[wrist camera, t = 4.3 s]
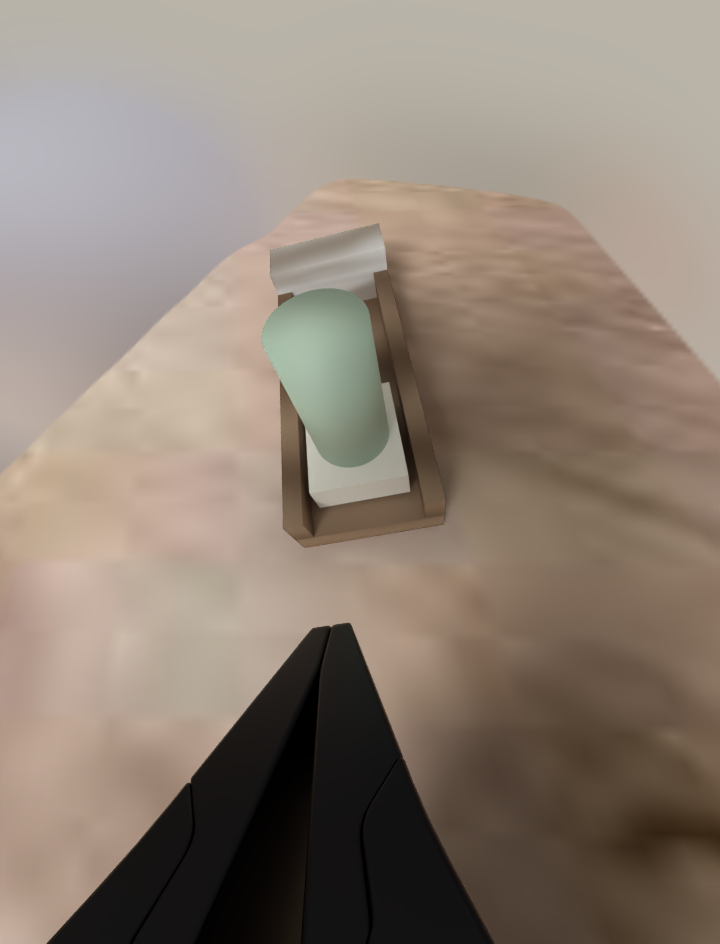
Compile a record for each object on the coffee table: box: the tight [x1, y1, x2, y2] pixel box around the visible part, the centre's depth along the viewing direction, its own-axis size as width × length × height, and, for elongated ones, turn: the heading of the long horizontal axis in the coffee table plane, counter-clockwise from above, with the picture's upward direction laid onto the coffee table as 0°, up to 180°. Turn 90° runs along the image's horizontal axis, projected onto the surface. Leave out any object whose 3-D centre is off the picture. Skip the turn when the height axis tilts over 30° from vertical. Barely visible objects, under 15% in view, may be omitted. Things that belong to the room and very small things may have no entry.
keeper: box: [262, 288, 410, 508], centre depth 17 cm, size 6×5×9 cm
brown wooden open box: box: [270, 223, 446, 548], centre depth 23 cm, size 21×8×5 cm, turn 7°
